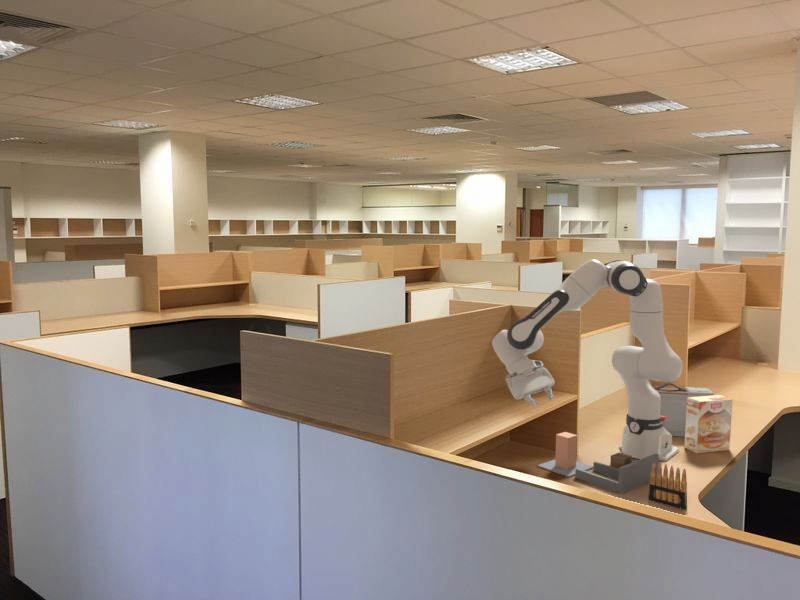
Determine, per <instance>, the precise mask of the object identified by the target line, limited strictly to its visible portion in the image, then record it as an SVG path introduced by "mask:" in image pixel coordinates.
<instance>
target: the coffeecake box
mask: <svg viewBox="0 0 800 600" xmlns="http://www.w3.org/2000/svg"><path fill="white" fill-rule="evenodd" d="M733 402H734V401H733V398H730V397H728V396H724V395H722V394H713V395H712V396H699V397H687V412H686V430H685V436H684V448H685V449H687V450H689V451H691V452H692V453H695V454H703V453H711V452H712V453H713V452H714V453H715V452H721V451H730V450H731V449H730V446H731V431H732V414H733V413H732V412H733Z"/></svg>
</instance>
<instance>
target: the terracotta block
mask: <svg viewBox="0 0 800 600" xmlns="http://www.w3.org/2000/svg"><path fill="white" fill-rule="evenodd" d="M577 447H578V435H577V434H574V433H571V432H567V431H563V432H560V433H556V434H555V458H554V460H555V466H558V467H561V468H564V469H567V470H568V469H570V468H573V467H576V461H577V457H578V456H577V449H578V448H577Z"/></svg>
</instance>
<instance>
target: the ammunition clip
mask: <svg viewBox="0 0 800 600" xmlns="http://www.w3.org/2000/svg"><path fill="white" fill-rule="evenodd" d="M662 467H663V468H662ZM668 470H669V471H668ZM686 470H687V469H686V468H683V470H682V472H681V470H680V468H679V466H677V468H676V471H675V470H674V467H673V465H671V466H670V469H668V464H665V465H664V466H662V464H661V462H659V465H658V472H657V477H656V465H655V462H653V465H652V471H651V479H650V483H649V489H648V499H647V500H648V501H649V500H650V502H653V501H654V503H657V502H658V503H657V504H661V503H662V505H666V506H669V507H673V508H675V509H676V508H677V509H680V508H681V509H680V510H683V509H684V510H683V511H685V510H686V509H687V508H688V491H687V489H688V482H687V471H686ZM668 473H669V474H668ZM681 473H682V475H681Z"/></svg>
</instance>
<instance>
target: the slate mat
mask: <svg viewBox="0 0 800 600" xmlns="http://www.w3.org/2000/svg"><path fill="white" fill-rule="evenodd" d="M593 466H594V465H590V464H586V463H583V462H581V461H577V460H576V467H573V468H570V469H568V470H567V469H564V468H561V467H558V466H555V459H553V460H549V461H546V462H543V463H540V464H537V467H538V468H540V469H544V470H546V471H550V472H552V473H556V474H558V475H560V474H561V476H563V475H564V477H566V478H570V477H573V476H574V477H575V469H576V468H578V469H581V470H584V471H587V472H588V471H589V470H593Z"/></svg>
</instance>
